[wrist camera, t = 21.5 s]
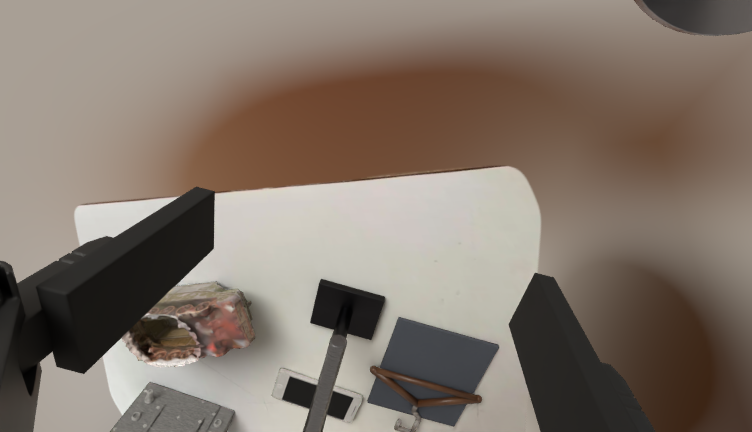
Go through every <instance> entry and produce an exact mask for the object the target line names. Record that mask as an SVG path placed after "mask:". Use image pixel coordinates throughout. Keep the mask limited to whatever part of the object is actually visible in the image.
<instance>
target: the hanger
mask: <svg viewBox="0 0 752 432" xmlns="http://www.w3.org/2000/svg"><path fill="white" fill-rule="evenodd" d="M370 372H371V373H372V374H374V375H375V376H376V377H377V378H379V379H380V380H381V381H383V382H384V383H385V384H386V385H388V386H389V387H390V388H392V389H393V390H394V391H395V392H397V393H398V394H399V395H401V396H402V397H403V398H404V399H406V400H407V401H408V402H410V403H411V404H412V405H413V407H412V409H411V412H412V414H413V415H414V416H415V418H416V420H415V422H414V425H413V427H412V429H409V428H405V427H402V426H400V424H401V420H400V419H398V420H397V422H396V424H395V426H394V429H395V430H397V431H401V432H415V431H416V429H417V427H418V425H419V423H420V421H421V416H420V415H419V414H418V412H417V411H416V410H417V408H418V407H431V406H444V405H458V404H472V403H480V402H481V401H482V397H481V396H480V395H475V394H471V393H467V392H464V391H460V390H457V389H453V388H450V387H446V386H443V385H439V384H435V383H432V382H428V381H425V380H421V379H418V378H414V377H410V376H407V375H403V374H400V373H396V372H393V371H389V370H385V369H382V368H378V367H376V366H371V367H370ZM391 378H393V379H397V380H400V381H404V382H408V383H411V384H415V385H418V386H422V387H425V388H429V389H433V390H436V391H440V392H443V393H447V394H450V395H454V396H456V397H443V398H430V399H416V398H415V397H414V396H413V395H411V394H410V393H409V392H408V391H406V390H405V389H404V388H403V387H401V386H400V385H399V384H397V383H396V382H395V381H394V380H392V379H391Z"/></svg>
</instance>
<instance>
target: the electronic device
mask: <svg viewBox="0 0 752 432" xmlns="http://www.w3.org/2000/svg"><path fill="white" fill-rule="evenodd" d="M233 414H234V410H231V409H228V408H225V407H222V406H219V405H216V404H213V403H210V402H207V401H204V400H201V399H198V398H195V397H192V396H189V395H186V394H183V393H181V392H178V391H175V390H172V389H169V388H166V387H163V386H160V385H157V384H154V383H151V382H149V384H148V385H147V386H146V387H145V389H144V390H143V391H142V392H141V393H140V395H139V396H138V397H137V398H136V400H135V401H134V402H133V403H132V405H131V406H130V407H129V408H128V410H127V411H126V412H125V413H124V415H123V416H122V417H121V418H120V420H119V421H118V422H117V423H116V425H115V426H114V427H113V428H112V430H111V431H110V432H227V430H228V428H229V426H230V424H231V421H232V418H233Z"/></svg>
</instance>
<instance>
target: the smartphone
mask: <svg viewBox="0 0 752 432" xmlns="http://www.w3.org/2000/svg"><path fill="white" fill-rule="evenodd" d="M317 384H318V380H315V379H312V378H310V377H307V376H304V375H301V374H298V373H295V372H292V371H289V370H286V369H282V368H281V369H280V370H279V373H278V376H277V379H276V382H275V385H274V388H273V392H272V395H271V396H272V397H274V398H276V399H279V400H282V401H285V402H288V403H291V404H294V405H297V406H300V407H303V408H306V409H309V410H310V407H311V403H312V400H313V397H314V393H315V390H316V387H317ZM362 399H363V396H362V395H360V394H357V393H354V392H351V391H348V390H345V389H342V388H339V387H336V386H334V389H333V392H332V396H331V400H330V404H329V408H328V412H327V416H330V417H333V418H336V419H339V420H342V421H345V422H348V423H351V422H352V420H353V418H354V416H355V414H356V412H357V410H358V408H359V406H360V404H361V402H362Z"/></svg>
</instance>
